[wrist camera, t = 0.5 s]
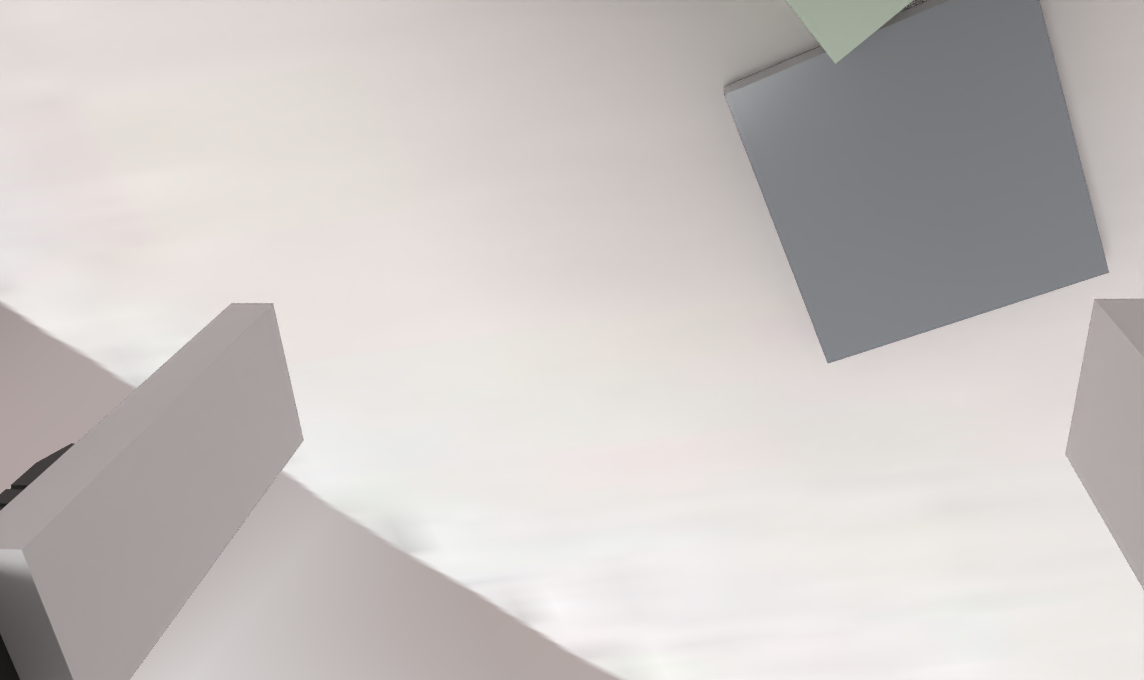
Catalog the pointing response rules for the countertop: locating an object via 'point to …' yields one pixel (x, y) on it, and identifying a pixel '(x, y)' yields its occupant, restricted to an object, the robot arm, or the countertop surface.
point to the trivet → (921, 172)
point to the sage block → (844, 21)
